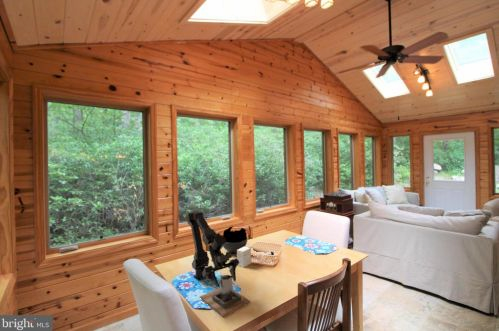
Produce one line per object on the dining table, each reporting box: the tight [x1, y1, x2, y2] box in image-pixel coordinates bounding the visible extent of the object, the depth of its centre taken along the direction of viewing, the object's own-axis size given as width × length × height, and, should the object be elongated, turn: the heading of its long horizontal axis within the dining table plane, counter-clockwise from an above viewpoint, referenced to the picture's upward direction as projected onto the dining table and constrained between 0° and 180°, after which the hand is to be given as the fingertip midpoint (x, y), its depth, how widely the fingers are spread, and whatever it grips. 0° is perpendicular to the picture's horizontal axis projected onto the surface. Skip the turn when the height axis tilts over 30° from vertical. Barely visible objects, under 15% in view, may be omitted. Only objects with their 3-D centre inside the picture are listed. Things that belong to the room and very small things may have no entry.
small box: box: [236, 246, 252, 268], centre depth 165 cm, size 8×6×10 cm
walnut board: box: [199, 287, 251, 318], centre depth 123 cm, size 20×16×3 cm
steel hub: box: [219, 274, 234, 303], centre depth 122 cm, size 6×6×11 cm
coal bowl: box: [222, 226, 248, 254], centre depth 187 cm, size 20×20×19 cm
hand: (227, 284), depth 121 cm, fingers open, 9 cm apart
